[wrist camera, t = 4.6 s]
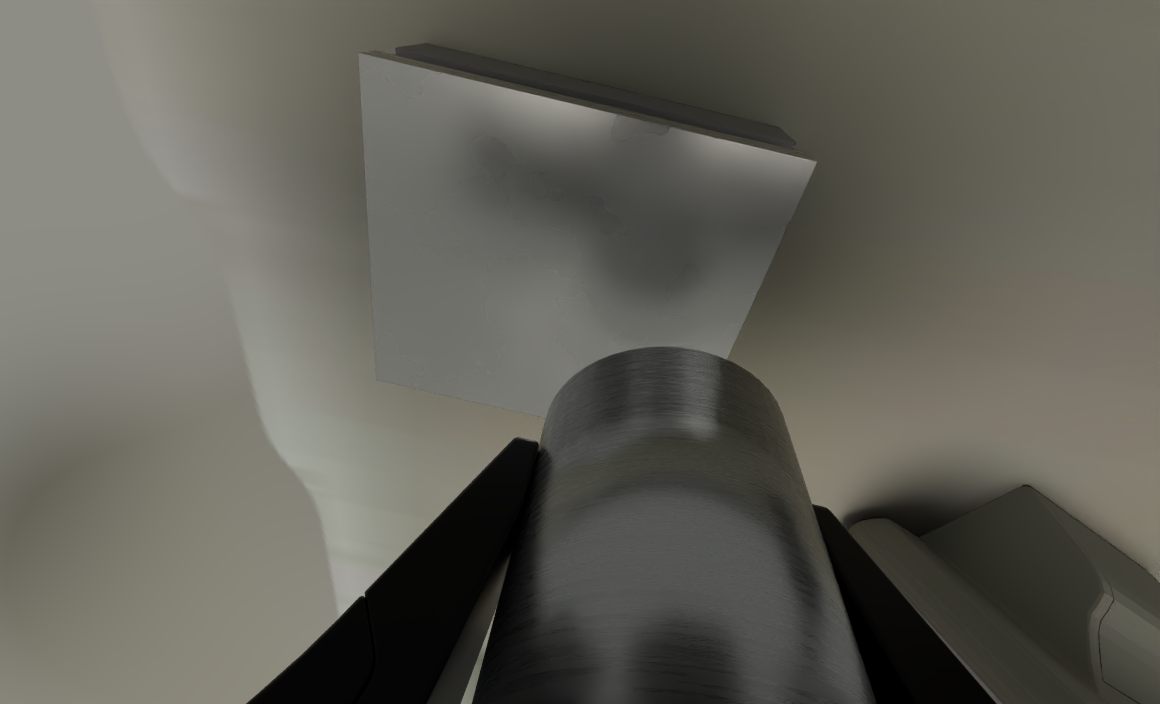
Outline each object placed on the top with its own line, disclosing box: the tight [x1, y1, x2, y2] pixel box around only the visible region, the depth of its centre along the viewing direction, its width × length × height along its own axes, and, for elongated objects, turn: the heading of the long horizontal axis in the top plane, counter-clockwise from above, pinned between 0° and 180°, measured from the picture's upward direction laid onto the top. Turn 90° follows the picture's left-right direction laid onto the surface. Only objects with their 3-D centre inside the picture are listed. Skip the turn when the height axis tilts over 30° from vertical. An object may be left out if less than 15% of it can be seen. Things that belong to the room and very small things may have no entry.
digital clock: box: [848, 486, 1160, 704], centre depth 19 cm, size 16×9×11 cm, turn 45°
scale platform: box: [358, 51, 817, 418], centre depth 13 cm, size 10×9×1 cm
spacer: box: [472, 347, 877, 704], centre depth 7 cm, size 4×4×5 cm
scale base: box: [396, 43, 796, 150], centre depth 15 cm, size 10×9×2 cm
